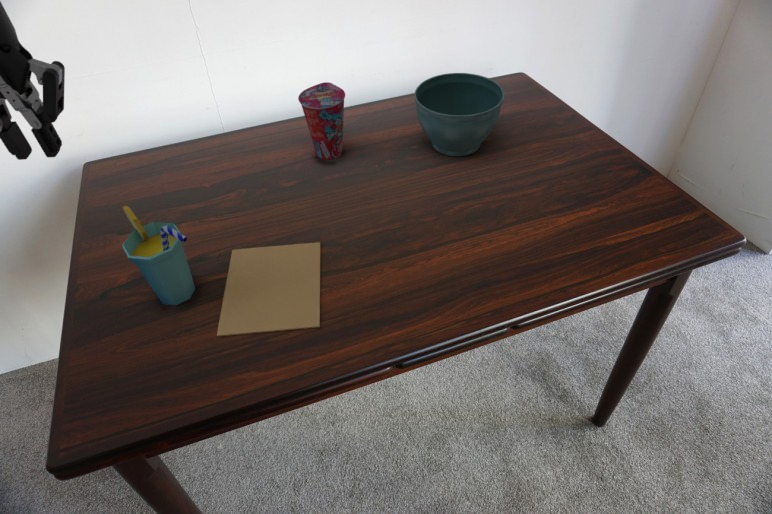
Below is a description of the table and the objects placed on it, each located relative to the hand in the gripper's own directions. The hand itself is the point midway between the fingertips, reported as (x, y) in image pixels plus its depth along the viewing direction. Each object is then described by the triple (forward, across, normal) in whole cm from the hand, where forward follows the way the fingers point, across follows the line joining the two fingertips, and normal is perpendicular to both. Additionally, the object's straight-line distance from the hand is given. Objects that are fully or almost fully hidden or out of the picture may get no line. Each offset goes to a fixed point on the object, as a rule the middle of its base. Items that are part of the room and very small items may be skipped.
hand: (40, 154), depth 59 cm
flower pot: (+25, +55, +34) cm, 69 cm away
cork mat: (+25, +22, 0) cm, 33 cm away
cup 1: (+25, +8, 0) cm, 27 cm away
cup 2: (+25, +30, +35) cm, 53 cm away
